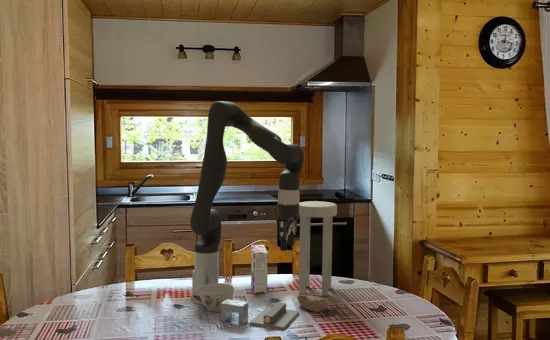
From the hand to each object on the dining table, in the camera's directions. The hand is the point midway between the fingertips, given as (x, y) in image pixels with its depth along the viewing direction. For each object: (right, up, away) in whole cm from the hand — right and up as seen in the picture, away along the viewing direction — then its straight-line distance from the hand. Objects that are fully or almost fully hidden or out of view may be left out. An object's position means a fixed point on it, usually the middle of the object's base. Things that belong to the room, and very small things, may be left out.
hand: (287, 247), depth 187 cm
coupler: (-4, -24, -4) cm, 24 cm away
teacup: (-26, -23, +5) cm, 35 cm away
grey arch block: (-18, -24, -6) cm, 30 cm away
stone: (+9, -23, +7) cm, 26 cm away
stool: (+12, -21, +28) cm, 37 cm away
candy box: (-11, -21, +30) cm, 38 cm away
